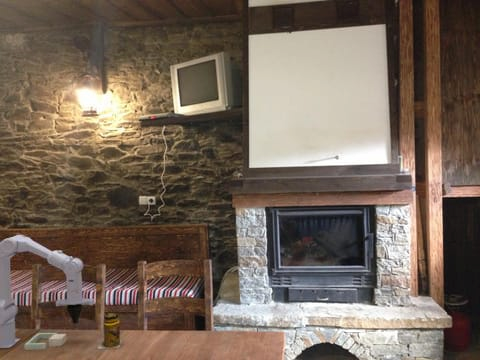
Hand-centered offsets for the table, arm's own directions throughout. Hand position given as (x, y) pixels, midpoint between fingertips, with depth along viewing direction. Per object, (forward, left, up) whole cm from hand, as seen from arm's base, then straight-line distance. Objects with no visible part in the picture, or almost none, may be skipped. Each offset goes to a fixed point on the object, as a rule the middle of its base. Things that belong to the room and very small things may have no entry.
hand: (75, 322), depth 165 cm
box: (-14, 0, -8) cm, 16 cm away
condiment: (+14, -3, -8) cm, 17 cm away
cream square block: (-7, 0, -8) cm, 11 cm away
